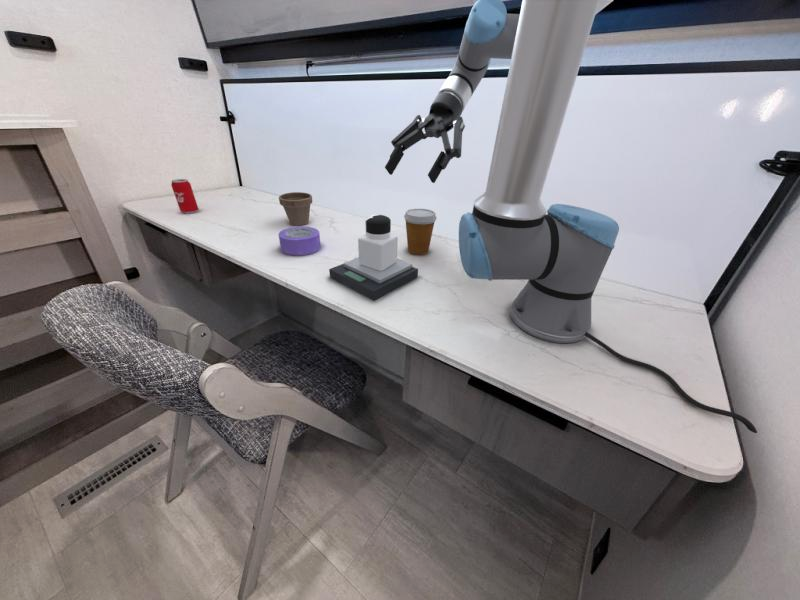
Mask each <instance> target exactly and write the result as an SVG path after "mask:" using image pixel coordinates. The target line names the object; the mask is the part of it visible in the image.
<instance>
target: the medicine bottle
mask: <svg viewBox="0 0 800 600" xmlns="http://www.w3.org/2000/svg"><path fill="white" fill-rule="evenodd" d="M391 223H392V221H391V218H390V217H388V216H387V215H383V214H372V215H371V214H370V215H369V216H367V217H366V218H365V219H364V227H365V229H364V230H365V234H364V235H362V236H360V237H358V238H357V245H358V257H359V264H360V265H363V266H366V267H369V268H372V269H375V270H378V271H383V270H385V269H386V268H388V267H389V266H391V265H393V264H394V263H396V262H397V258H398V242H399V238H398V235H395V234H391V230H392V229H391V227H392V226H391V225H392V224H391Z"/></svg>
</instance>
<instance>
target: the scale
mask: <svg viewBox="0 0 800 600" xmlns="http://www.w3.org/2000/svg"><path fill="white" fill-rule="evenodd" d="M328 272H329V278H330V279H331V280H334V281H335V282H337V283H339V284H341V285H343V286H344V287H347V288H349V289H351V290H352V291H354V292H355V293H358V294H359V295H362V296H364V297H365V298H367V299H369V300H371V301H373V302H374V301H377V300H378V299H380V298H382V297H384V296H386V295H388V294H389V293H392V292H393V291H395V290H397V289H399V288H401V287H402V286H405V285H406V284H408V283H410V282H413V281H414V280H416V279H418V278H419V268H416V267H414V266H413V263H410V262H408V261H405V260H402V259H400V258H398V257H397V262H396V263H394V264H393V265H391V266H389V267H388V268H386V269H385V270H383V271H378V270H375V269H372V268H369V267H366V266H363V265H360V264H359V256H358V257H356V258H353V259H351V260H349V261H346V262H343V263H341V264H339V265H337V266H333V267H331V268H329V269H328Z"/></svg>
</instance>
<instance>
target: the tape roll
mask: <svg viewBox="0 0 800 600" xmlns="http://www.w3.org/2000/svg"><path fill="white" fill-rule="evenodd" d="M277 236H278V239H279V246H280V250H281V251H280V252H282V253H284V254H286V255H288V256H307V255H312V254H315V253H316V252H318V251H320V250H321V247H322V246H321V244H322V243H321V236H320V230H318V229H317V228H315V227H311V226H305V225H301V226H291V227H286V228H283V229H281V230H280V231H279V232H278V235H277Z"/></svg>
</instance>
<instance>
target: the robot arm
mask: <svg viewBox="0 0 800 600" xmlns="http://www.w3.org/2000/svg"><path fill="white" fill-rule="evenodd" d="M612 2H614V0H522V1H521V7H520V12H519V13H508V11H507V7H506V5H505V3H504V2H503V1H502V0H477V1H476V2H475V3H474V4H473V6H472V8H471V10H470V12H469V15H468V18H467V20H466V23H465V25H464V32H463V35H462V39H461V43H460V47H459V50H458V52H457V56H456V60H455V62H454V65H453V68H452V69H451V71H450V73H449V75H448V77H447V78H446V79H445V81H444V82H443V84H442V85H441V87H440V89H439V90H438V93H437V95H436V97H435V98H434V100H433V101H432V103H431V105H430V108H429V113H428V114H427V116H426V117H421V115H420V114H417V115H415V117H414V119H413V120H412V121H411V123H409V124H408V125H407V126H406V127H405V128H403V130H402V131H401V132H399V133H398V134H397V135H396V136H395V137H394V138H393V139H392V140H391V141H390V143H391V145H392V146H393V148H394V149H393V150H392V151H391V153H390V155H389V159H388V161H387V163H386V164H385V165H384V169H385V170H386V172H387V173H388V175H389V176H390V175H391V176H392V175H393V174H394V172H395V170H396V169H397V167H398V165H399V164H400V162H401V160H402V159H403V157H404V155H405V153H404V152H405V151H407V150H408V149H410V148H411V147H413V146H414V145H416V144H417V143H419V142H420V141H421V140H426V139H427V138H436V139H439V138H441V141H442V144H443V150H444V151H443V150H441V151H440V152H439V154H438V156H437V158H436V159H435V160H434V163H433V165H432V166H431V168H430V170H429V172H428V173H427V176H428V178H429V180H430V182H431V183H432V184H435V183H436V182H437V180H438V178H439V176H440V174H441V173H442V171H444V170H445V169H446V168H447V166H448V164H449V163H450V162H451V160H452V159H453V158H456V159H461V157H462V147H463V146H462V145H463V133H464V130H465V127H466V124H465V121H464V119H463V116H462V114H463V112H464V110H465V109H466V107H467V105H468V103H469V101H470V100H471V99H472V96H473V94H474V93H475V91H476V89H477V88H478V87H479V85H480V83H481V81H482V79H483V78H485V76H486V74H487V71H488V69H489V66H490V64H491V61H492V60H491V59H497V60H498V59H500V60H501V59H502V60H510V62H509V63H510V64H509V67H508V68H509V69H508V74H507V79H506V83H505V89H504V94H503V100H502V104H501V108H500V109H501V110H500V115H499V121H498V124H497V131H496V135H495V141H494V145H493V152H492V155H491V162H490V166H489V171H488V176H487V177H488V178H487V182H486V187H485V191H484V192H483V193H482V194H481V195H479V196H478V197H476V198H475V199H474V203H473V206H472V212H467V213H463V214H462V215H461V216H460V220H459V223H458V248H459V256H460V262H461V265H462V269H463V270H464V272H465V274H466V275H467V276H468V277H469V278H470V279H475V280H488V281H494V280H495V281H496V280H501V281H502V280H504V281H505V280H506V281H507V280H508V281H509V280H510V281H511V280H515V281H516V280H517V281H518V280H519V281H520V280H521V281H522V280H523V281H525V280H527V282H526V284H525V285H524V286H523V287H522V289H521V291H520V292H519V293H518V294H517V296H516V298H514V300H513V301H512V304H511V308H510V311H509V313H510V318H511V320H512V321H513V323H514V324H515V325H516V327H518V328H520V329H521V330H522V331H524V332H525V333H527V334H529V335H530V336H533V337H535V338H538V339H540V340H544V341H547V342H552V343H558V344H572V343H574V344H575V343H578V342H581V341H582V340H584V339H585V338H587V339H589V340H591V341H593V342H594V343H596V344H597V345H599V346H600V347H601V348H602V349H604V350H606V351H607V352H608V353H609V354H611V355H613V356H614V357H616V358H618V359H619V360H621V361H624V362H625V363H629V364H633V365H635V366H639V367H642V368H645V369H648V370H650V371H653V372H655V373H656V374H658V375H659V376H661V377H662V378H664V379H665V380H666V381H667V382H668V383H669V384H670V385H671V387H673V389H674V390H675V391H676V393H678V394H679V396H681V397H682V398H683V399H684V400H685V401H686V402H688V403H690V404H691V405H693V406H694V407H696V408H698V409H701V410H703V411H706V412H709V413H713V414H716V415H720V416H724V417H728V418H731V419H734V420H737V421H739V422H740V423H742V424H743V425H744V426H745V427H746V428H747V430H749V432H751V433H753V434H758V431H757V430H758V429H757V428H756V427H755V426H754V424H753V423H752V422H751V421H750V420H749V419H748V418H746V417H745V416H744V415H743V416H742V415H741V414H739V413H738V414H737V413H736V412H733V411H730V410H725V409H722V408H721V409H720V408H717V407H713V406H710V405H706V404H703V403H701V402H700V401H697V400H696V399H695V398H693V397H692V396H690V395H689V394H687V392H686V391H684V390H683V388H682V387H681V386H680V385H679V384H678V382H677V381H676V380H675V379H674V378H673V377H672V376H671V375H669V374H668V373H667V372H665V371H664V370H662V369H660V368H659V367H657V366H655V365H652V364H649V363H646V362H643V361H639V360H636V359H633V358H630V357H627V356H625V355H622V354H621V353H619V352H617V351H616V350H615V349H613V348H612V347H610V346H609V345H607V344H606V343H605V342H603V341H602V340H600V339H599V338H597V337H595V336H594V335H592V334H591V333H589V332H590V329H591V327H592V298H593V295H594V293H595V290H596V288H597V286H598V283H599V281H600V278H601V276H602V274H603V272H604V269H605V267H606V266H607V263H608V260H609V258H610V256H611V254H612V251H613V249H615V246H616V245H615V244H616V241H617V237H618V235H619V233H620V225H619V223H618V222H617V221H616V220H615V219H614V218H612V217H610V216H608V215H606V214H603V213H600V212H597V211H595V210H591V209H588V208H584V207H580V206H575V205H571V204H564V203H555V204H551V205H550V206H549V207H548V209H547V207H546V206H545V205H544V203H543V201H542V199H541V197H542V195H543V194H542V193H543V190H544V187H545V183H546V180H547V176H548V173H549V171H550V167H551V163H552V160H553V157H554V154H555V150H556V147H557V144H558V140H559V137H560V134H561V130H562V126H563V123H564V120H565V117H566V113H567V110H568V107H569V104H570V100H571V97H572V93H573V91H574V87H575V84H576V81H577V77H578V74H579V70H580V68H581V67H580V66H581V63H582V61H583V57H584V53H585V51H586V47H587V44H588V40H589V38H590V34H591V31H592V28H593V24H594V20H595V17H596V15H597V14H598V13H600V12H601V11H602V10H603V9H605V8H606V7H607V6H609V5H610V4H611V3H612ZM423 129H424V131H423ZM452 129H453V144H452V145H451V143H450V138H449V135H448V133H449V132H450V131H451V130H452Z"/></svg>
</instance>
